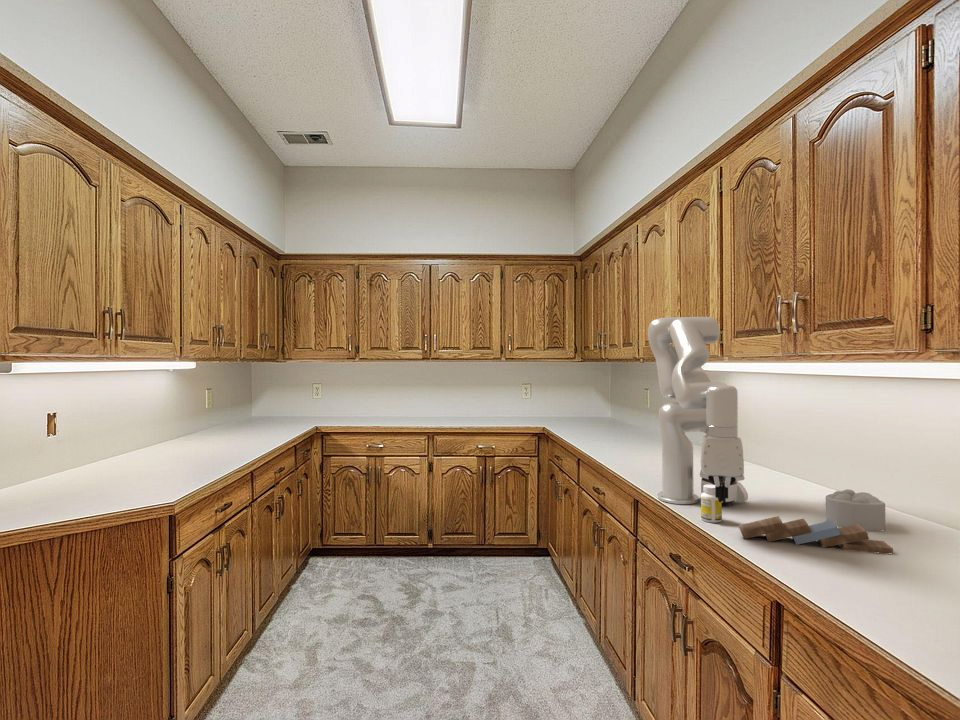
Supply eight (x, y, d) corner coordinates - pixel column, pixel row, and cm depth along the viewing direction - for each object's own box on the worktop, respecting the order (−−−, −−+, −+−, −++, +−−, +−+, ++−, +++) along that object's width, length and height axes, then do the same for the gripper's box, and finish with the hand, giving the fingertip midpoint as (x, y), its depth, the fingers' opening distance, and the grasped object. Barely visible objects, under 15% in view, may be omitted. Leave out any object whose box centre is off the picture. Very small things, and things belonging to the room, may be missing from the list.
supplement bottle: (720, 518, 150) (719, 484, 150) (723, 523, 145) (723, 489, 145) (700, 516, 151) (699, 483, 151) (702, 522, 146) (702, 488, 146)
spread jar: (697, 501, 166) (697, 465, 166) (715, 495, 173) (715, 460, 173) (734, 510, 157) (734, 472, 157) (752, 503, 164) (752, 466, 163)
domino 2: (765, 534, 131) (808, 524, 128) (762, 527, 136) (803, 518, 132) (768, 541, 131) (811, 532, 128) (765, 535, 136) (807, 525, 132)
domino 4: (843, 543, 125) (892, 548, 122) (836, 536, 130) (884, 541, 127) (843, 552, 125) (892, 556, 122) (836, 544, 130) (884, 549, 127)
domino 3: (820, 539, 127) (866, 531, 124) (814, 532, 132) (858, 524, 129) (823, 547, 127) (869, 539, 124) (816, 540, 131) (861, 532, 128)
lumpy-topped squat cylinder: (890, 532, 137) (889, 499, 136) (833, 528, 140) (833, 496, 140) (871, 519, 147) (871, 489, 146) (819, 516, 150) (819, 487, 150)
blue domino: (793, 537, 129) (837, 526, 126) (789, 530, 134) (831, 520, 130) (796, 544, 129) (840, 534, 125) (792, 537, 133) (835, 527, 130)
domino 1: (740, 531, 133) (782, 521, 130) (738, 525, 138) (778, 515, 135) (743, 539, 133) (785, 529, 130) (741, 532, 138) (781, 523, 134)
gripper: (691, 433, 136) (691, 502, 136) (755, 435, 131) (755, 507, 131) (690, 428, 143) (690, 494, 143) (751, 430, 138) (750, 499, 138)
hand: (721, 500), depth 137 cm, fingers closed
